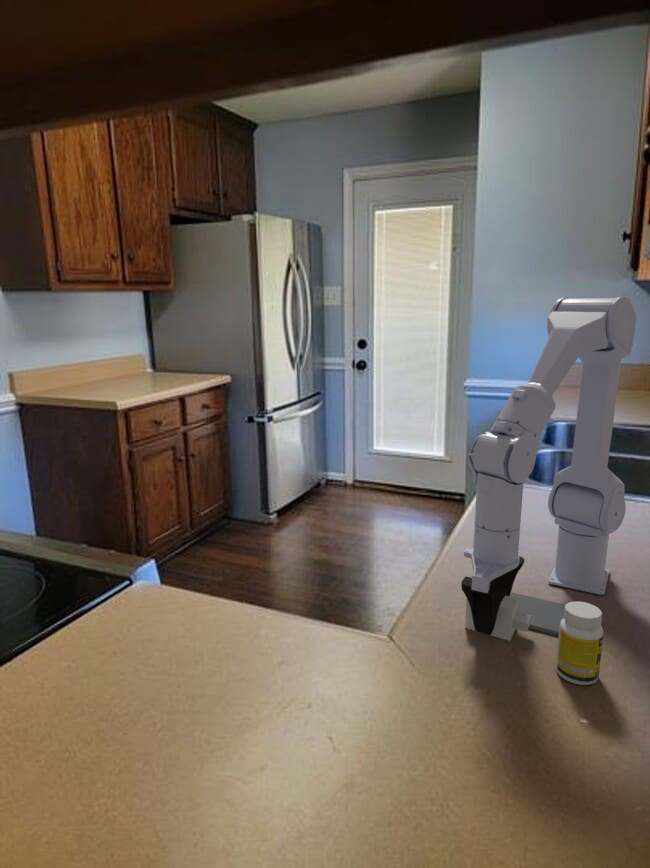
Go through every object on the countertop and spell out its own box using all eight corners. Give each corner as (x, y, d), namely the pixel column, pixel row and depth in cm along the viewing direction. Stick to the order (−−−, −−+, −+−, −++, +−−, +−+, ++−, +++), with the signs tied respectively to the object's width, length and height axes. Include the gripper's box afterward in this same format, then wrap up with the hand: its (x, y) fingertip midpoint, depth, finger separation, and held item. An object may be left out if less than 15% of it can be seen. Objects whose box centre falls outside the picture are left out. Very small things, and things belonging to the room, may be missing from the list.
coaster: (512, 596, 88) (512, 592, 88) (568, 609, 84) (569, 605, 84) (498, 620, 81) (499, 616, 81) (560, 636, 77) (560, 632, 77)
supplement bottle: (603, 689, 67) (610, 622, 65) (559, 684, 68) (565, 618, 66) (593, 664, 71) (599, 601, 69) (552, 659, 72) (557, 597, 70)
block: (472, 617, 82) (474, 588, 81) (530, 632, 78) (533, 602, 77) (465, 629, 79) (466, 598, 78) (525, 645, 75) (527, 613, 74)
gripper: (481, 502, 84) (476, 589, 87) (449, 536, 72) (445, 636, 75) (532, 511, 81) (525, 600, 84) (508, 548, 68) (500, 652, 71)
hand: (491, 618), depth 79 cm, fingers open, 7 cm apart
